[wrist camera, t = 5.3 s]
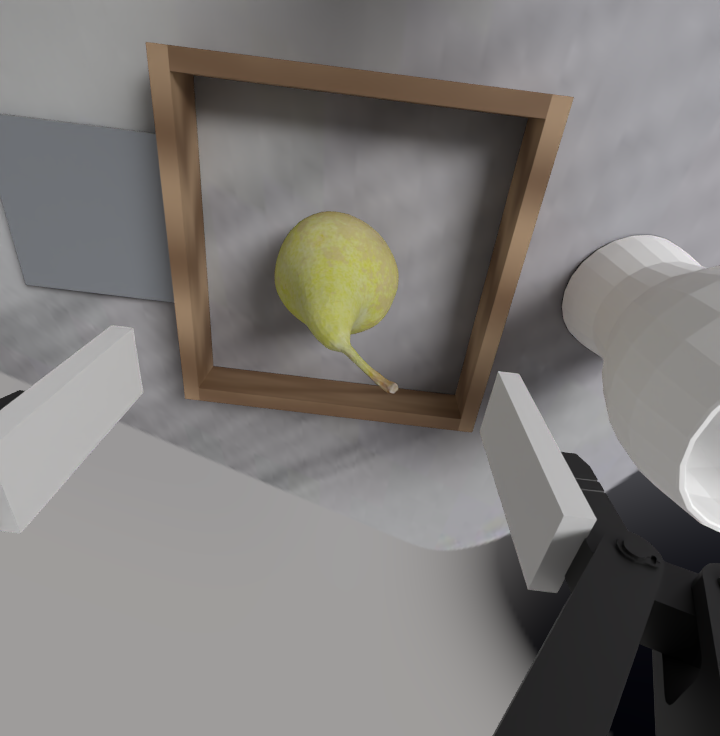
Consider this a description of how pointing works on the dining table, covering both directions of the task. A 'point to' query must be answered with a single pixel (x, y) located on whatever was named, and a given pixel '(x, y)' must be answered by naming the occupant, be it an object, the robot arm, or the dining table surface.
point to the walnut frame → (187, 239)
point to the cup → (657, 361)
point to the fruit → (337, 281)
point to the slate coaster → (85, 207)
